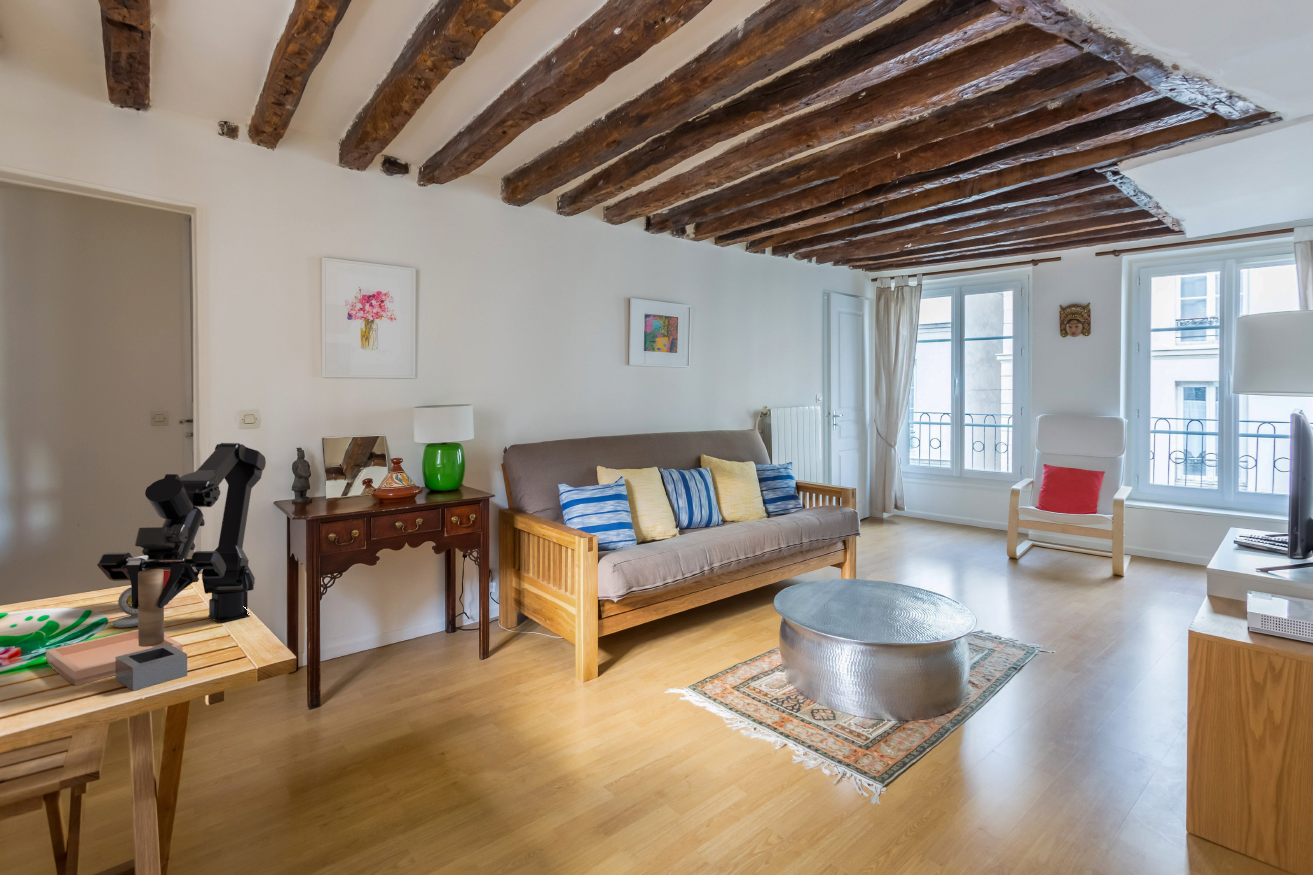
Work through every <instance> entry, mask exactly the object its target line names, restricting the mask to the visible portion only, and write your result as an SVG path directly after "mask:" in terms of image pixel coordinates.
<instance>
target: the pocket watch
mask: <svg viewBox="0 0 1313 875" xmlns="http://www.w3.org/2000/svg"><path fill="white" fill-rule="evenodd" d="M117 603H118V607H119V609H120V610H121V611H122V612H123V613H124V614H126V615H127V616H123V617H120V618H117V619H115V620H114V621H112V626H113V627H115V628H132V627H138V608H137V609H133V607H132V594H131V587H128V588H126V589H125V590H124V591H123V592H121V594H120V596H119V597H118V600H117Z"/></svg>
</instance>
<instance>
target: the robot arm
mask: <svg viewBox="0 0 1313 875" xmlns="http://www.w3.org/2000/svg"><path fill="white" fill-rule="evenodd" d="M265 468H266V457H265V455H263V454H262V453H261V451H259V450H256V449H253V448H251V447H247V446H246V445H244V444H241V443H239V442H220V443H217V444H216V445H215V447H214V451H213V452H212V453H211V454H210V455H209V457H208V458H206V460H204V462H203V463H202V464H201V465H200V466H199V467H198V469H197V470H196V471H193V472H189V473H187V474H184V475H182V476H179V474H178V473H166V474H165V475H164V477H163V478H160V479H157V480H155V481H154V482H152V483H151V484H150V485H149V486H147V487H146V489H145V492H144V494H145V497H146V499H147V500H148V502H149V504H150V505H151V506H152V507H153V509H154V511H155V513H156V514H157V516H158V517H159V518H162V519H164V521H163V522H162V526H161V527H159V526H158V527H138V531H137V534H136V539H135V544H134V546H135V547H140V548H143V549H142V550H141V553H142V554H143V556H144V555H148V559H143V558H134V557H133V556H132V554H131V553H130V552H106V553H104V554H102V555H101V556H100V558H99V560H98V562H97V564H96V566H97V567H98V568H99V569H100V570H101V572H102V573H103V574H104V575H105V576H106V577H107V578H108V579H109V581H115V582H120V581H126V582H127V581H130V586H131V594H132V605H131V606H132V607H133V609H137V608H138V572H140V571H143V570H149V569H163V570H170V576H169V579H168V581H167V583H166V585H165V587H164V590H163V592H162V594H161V596H160V599H159V602H158V607H159V608H163V607H164V608H165V606H166V604H167V603H168V604H169V602H171V601H172V600H173V599H174V598H175V597H176V596H178V595H179V594H180V593H181V592H183V590H185V589H186V588H188V587H189V586H190V585H192V584H193V583H198V582H199V581H200V577H199V574H200V572H201V581H202V585H203V590H204V594H207V595H208V594H211V598H210V599H209V600H208V601H209V602H208V603H209V604H208V606H209V608H208V618H209V619H212V620H213V621H216V622H218V623H225V622H230V621H233V620H237V618H239V619H242V617H243V618H247V617H249V616H248V614H249V613H250V612H249V611H247V610H246V609H248V610H249V608H248V607H249V606H248V602H249V600H248V596H249V594H248V593H249V592H250V591H253V590H255V581H256V579H255V578H256V577H255V576H254V574H253V572H252V570H251V568H250V567H249V559H248V557H247V555H246V552H245V551H244V550H243V547H244V540H245V533H246V526H247V522H248V520H247V519H248V515H249V514H248V513H249V506H250V501H251V493H252V489H253V487H254V486H256V485H257V483H258V482H259V481H260V480H261V479H262V475H263V471H264V470H265ZM223 480H225V482H226V484H227V491H226V497H225V502H224V503H225V504H224V510H223V515H222V520H221V527H220V532H219V534H220V535H219V539H218V545H217V547H216V549H214V550H202V551H201V550H199V551H198V550H196V551H194V552H193V553H192V555H191V558H188V556H189V553H190V552H191V551H193V550H195V548H196V544H195V542H194V541H195V539H196V537H197V534H198V532H199V528H200V527H204V526H205V524H206V523H205V519H204V514H203V512H202V510H201V509H200V508H212V507H213V506H214V505H215V503H216V502H217V501H219V498H220V495H221V490H220V484H221V483H222V482H223ZM168 604H167V605H168ZM243 606H244V607H246V609H245V608H244V607H243ZM247 612H249V613H248V614H247ZM246 616H247V617H246Z"/></svg>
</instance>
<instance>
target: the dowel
mask: <svg viewBox="0 0 1313 875" xmlns="http://www.w3.org/2000/svg"><path fill="white" fill-rule="evenodd" d="M163 590H164V570H163V569H149V570H143V571H140V572H138V626H137V628H138V629H137V630H138V642H139V646H141V647H148V646H154V645H158V644H161V643H163V642H164V635H165V606H164V607H163V608H159V607H158V602H159V599H160V596H161V594H162V592H163Z"/></svg>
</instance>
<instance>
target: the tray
mask: <svg viewBox="0 0 1313 875" xmlns="http://www.w3.org/2000/svg"><path fill="white" fill-rule="evenodd" d="M166 644H170V645H172V646H174V647H175V648H177V649H179V650H181V651H183V652H184V650H183V647H184V646H183V645H184V644H183V643H181V642H180V641H178V640H176V639H173V638H171V637H170V636H167V635H166V634H164V642H163V643H161V644H158V645H154V646H148V647H141V646H139V642H138V629H134V630H130V631H125V632H121V633H116V634H112V635H108V636H103V637H98V638H94V639H89V640H84V641H81V642H75V643H72V644H68V645H62V646H59V647H54V648H50V649H46V650H45V661H46V660H47V662H48V663H49V664H50V666H51V667H52V669H53V670H54V669H55V670H56V671H55V670H54V671H55V672H57V674H59V675H60V676H62V677H64V678H65V679H66V680H67V681H68V682H70V683H71V684H72V685H73V686H75V687H77V686H79V685H83V684H86V683H87V684H88V683H91V682H95V681H98V680H103V679H106V678H109V677H114V676H116V668H115V657H117V656H121V655H125V654H130V653H134V652H138V651H142V650H146V649H150V648H154V647H158V646H162V645H166ZM50 666H49V667H50ZM51 667H50V668H51Z"/></svg>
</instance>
